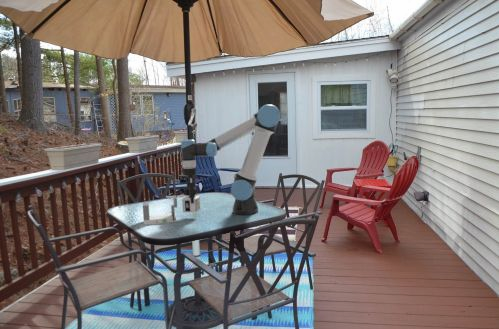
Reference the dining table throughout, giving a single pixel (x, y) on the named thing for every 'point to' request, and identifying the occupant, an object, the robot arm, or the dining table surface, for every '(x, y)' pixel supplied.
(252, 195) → the robot arm
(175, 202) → the gauge plate
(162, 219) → the gauge base
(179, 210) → the dining table surface
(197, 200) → the container
